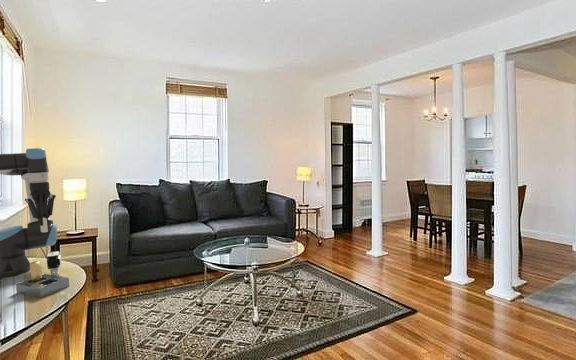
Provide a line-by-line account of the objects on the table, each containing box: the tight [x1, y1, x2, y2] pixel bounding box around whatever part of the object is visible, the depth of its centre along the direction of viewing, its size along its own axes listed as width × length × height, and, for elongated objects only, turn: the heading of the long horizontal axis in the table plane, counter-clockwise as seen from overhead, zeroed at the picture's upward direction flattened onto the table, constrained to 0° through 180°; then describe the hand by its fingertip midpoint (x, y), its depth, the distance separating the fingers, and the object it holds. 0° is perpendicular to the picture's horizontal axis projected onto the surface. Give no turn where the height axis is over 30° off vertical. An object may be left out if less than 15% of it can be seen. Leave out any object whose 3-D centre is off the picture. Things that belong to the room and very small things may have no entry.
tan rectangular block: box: [29, 260, 43, 283], centre depth 163 cm, size 4×4×12 cm
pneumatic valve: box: [46, 250, 63, 276], centre depth 180 cm, size 6×12×12 cm, turn 28°
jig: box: [15, 273, 70, 298], centre depth 162 cm, size 16×13×4 cm
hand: (44, 231), depth 168 cm, fingers closed
